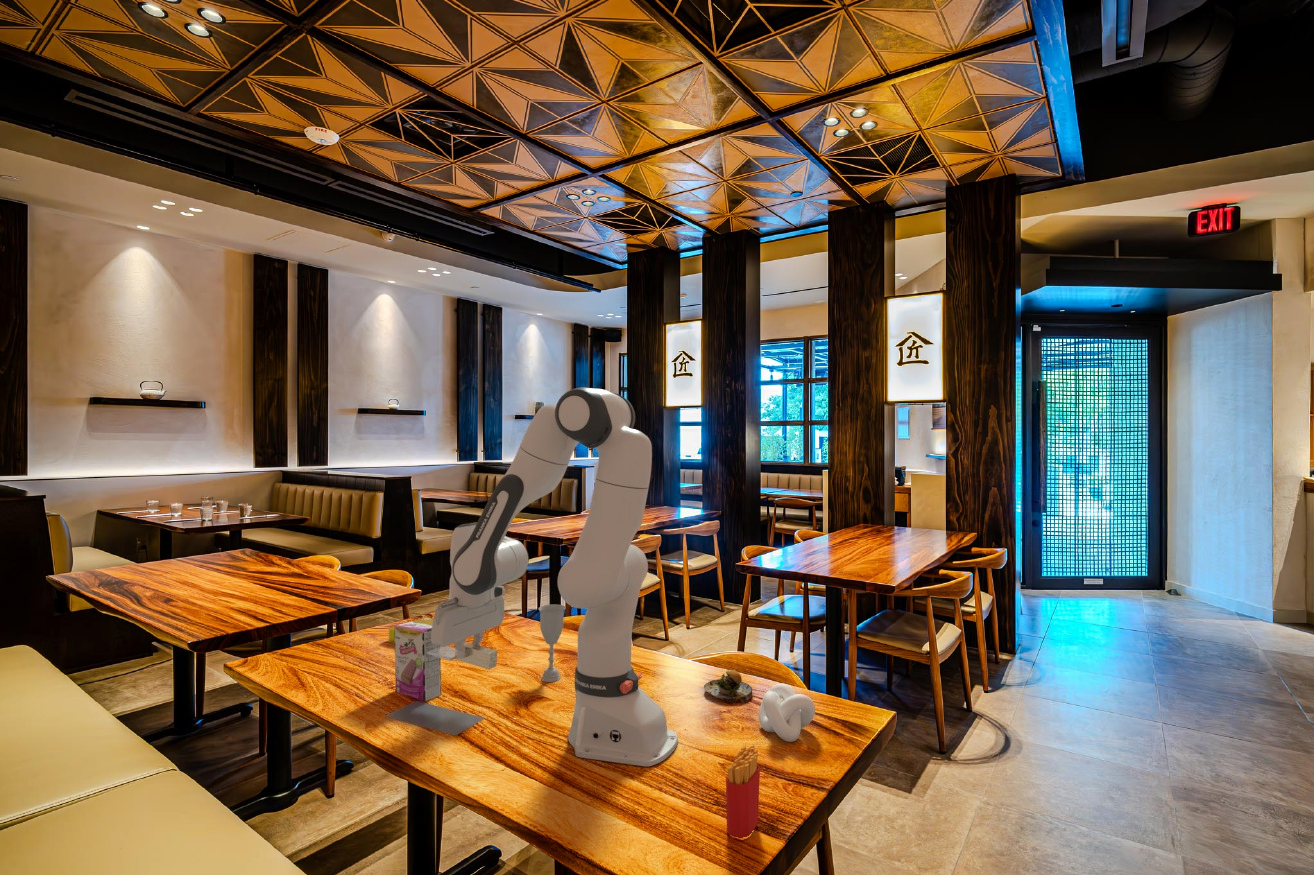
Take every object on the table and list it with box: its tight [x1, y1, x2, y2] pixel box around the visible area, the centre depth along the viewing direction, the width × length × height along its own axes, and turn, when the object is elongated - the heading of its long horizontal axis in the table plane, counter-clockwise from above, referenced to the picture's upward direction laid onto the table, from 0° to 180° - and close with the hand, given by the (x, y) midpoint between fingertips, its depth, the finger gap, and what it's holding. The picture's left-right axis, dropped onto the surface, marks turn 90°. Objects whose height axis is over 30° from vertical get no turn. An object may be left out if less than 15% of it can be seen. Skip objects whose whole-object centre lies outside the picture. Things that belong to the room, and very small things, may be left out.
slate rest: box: [384, 700, 486, 737], centre depth 134 cm, size 20×9×1 cm, turn 65°
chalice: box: [538, 603, 566, 683], centre depth 159 cm, size 7×7×18 cm
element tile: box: [388, 617, 434, 645], centre depth 190 cm, size 15×15×5 cm
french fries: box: [725, 744, 761, 838], centre depth 98 cm, size 8×4×12 cm, turn 151°
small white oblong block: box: [427, 641, 498, 670], centre depth 141 cm, size 17×5×4 cm, turn 64°
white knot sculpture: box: [758, 683, 816, 743], centre depth 130 cm, size 11×12×9 cm
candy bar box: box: [394, 621, 442, 702], centre depth 147 cm, size 11×5×16 cm, turn 58°
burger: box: [703, 665, 753, 705], centre depth 151 cm, size 12×12×8 cm
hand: (468, 655), depth 140 cm, fingers closed on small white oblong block, 2 cm apart
